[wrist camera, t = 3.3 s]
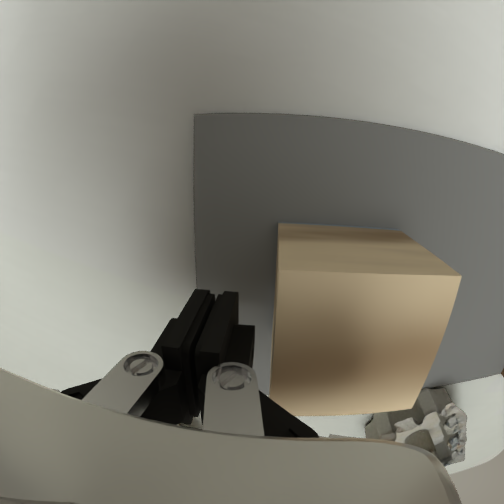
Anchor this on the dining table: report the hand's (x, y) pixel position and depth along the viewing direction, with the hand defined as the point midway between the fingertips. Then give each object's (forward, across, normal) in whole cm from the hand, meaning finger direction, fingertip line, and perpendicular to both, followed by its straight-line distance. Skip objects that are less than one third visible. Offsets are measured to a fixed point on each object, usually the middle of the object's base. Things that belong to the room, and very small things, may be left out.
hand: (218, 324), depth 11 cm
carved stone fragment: (+4, -15, +13) cm, 20 cm away
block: (+4, -5, 0) cm, 6 cm away
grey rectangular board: (+4, -10, 0) cm, 11 cm away
